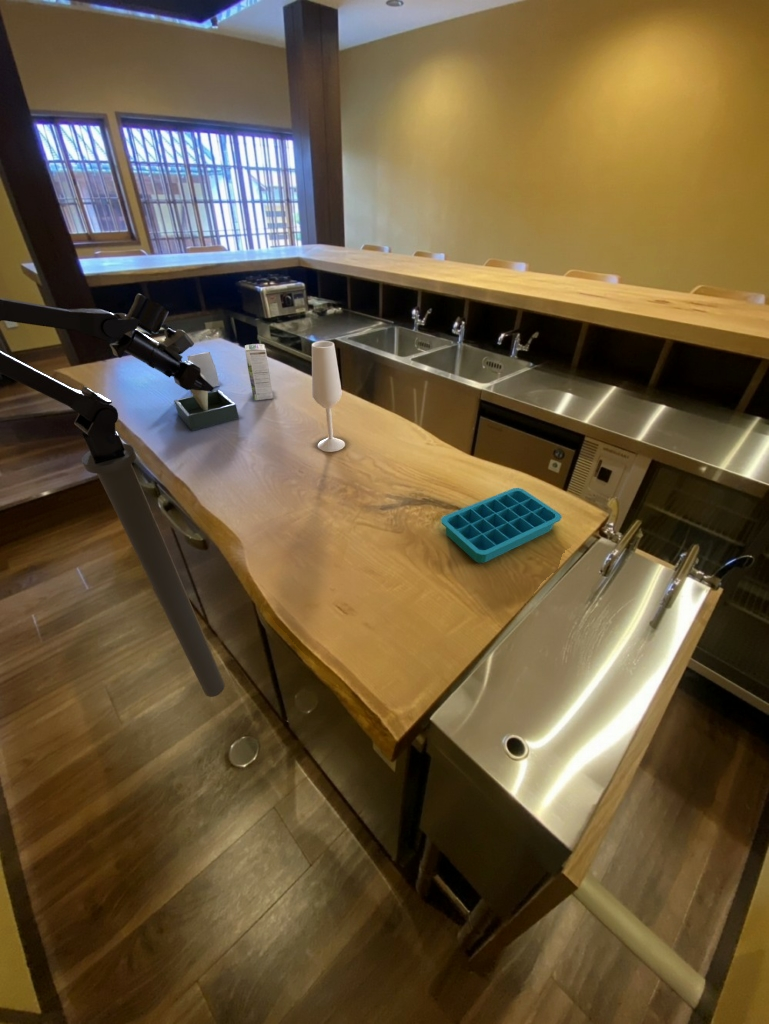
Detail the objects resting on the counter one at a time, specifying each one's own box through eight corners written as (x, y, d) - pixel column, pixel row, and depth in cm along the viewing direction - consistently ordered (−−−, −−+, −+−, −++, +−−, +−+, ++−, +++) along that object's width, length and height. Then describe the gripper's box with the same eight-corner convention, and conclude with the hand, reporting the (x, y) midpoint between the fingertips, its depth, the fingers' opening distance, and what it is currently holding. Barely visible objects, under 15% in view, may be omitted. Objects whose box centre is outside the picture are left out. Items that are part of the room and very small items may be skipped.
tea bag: (219, 385, 134) (212, 353, 128) (198, 390, 131) (189, 357, 125) (215, 382, 137) (207, 350, 131) (194, 387, 133) (185, 354, 127)
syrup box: (252, 393, 129) (243, 344, 120) (272, 391, 131) (264, 343, 122) (253, 401, 125) (244, 350, 116) (274, 398, 126) (266, 348, 117)
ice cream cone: (202, 410, 118) (184, 356, 109) (219, 410, 118) (203, 356, 108) (194, 418, 115) (175, 363, 105) (211, 418, 114) (194, 363, 105)
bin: (192, 431, 110) (187, 416, 107) (178, 414, 118) (173, 400, 115) (239, 418, 116) (235, 404, 113) (222, 403, 124) (219, 389, 121)
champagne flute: (350, 445, 104) (345, 344, 89) (328, 454, 100) (318, 351, 86) (334, 435, 108) (326, 337, 93) (312, 444, 104) (300, 343, 90)
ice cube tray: (436, 531, 78) (437, 518, 77) (515, 498, 87) (518, 486, 85) (478, 569, 71) (480, 556, 69) (560, 529, 79) (565, 517, 77)
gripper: (180, 329, 94) (237, 367, 106) (151, 313, 105) (206, 350, 117) (155, 372, 94) (214, 405, 107) (129, 352, 105) (185, 384, 118)
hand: (205, 384), depth 112 cm, fingers open, 9 cm apart
